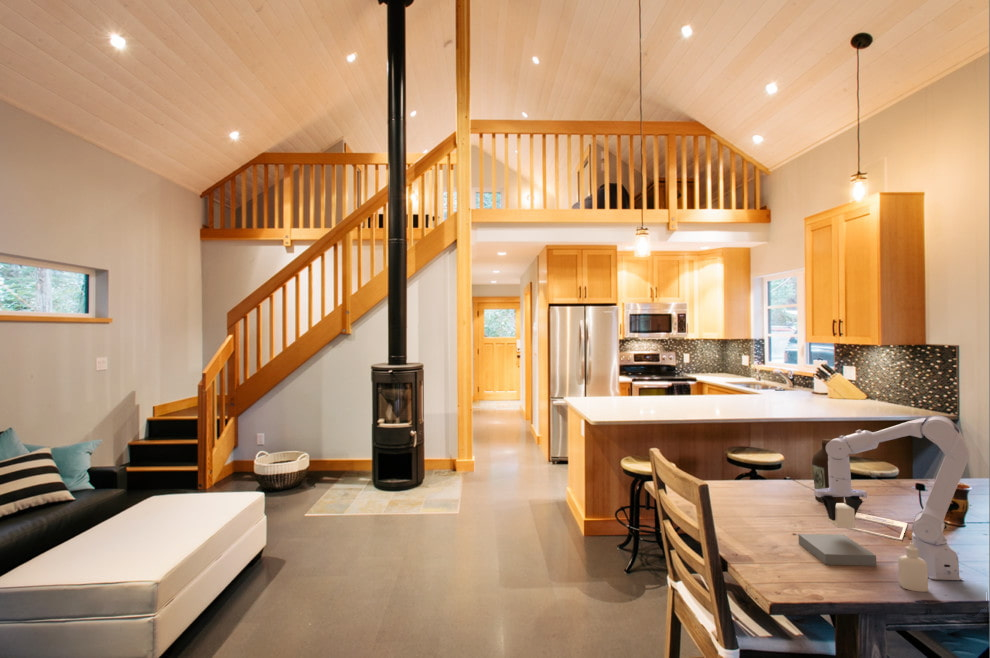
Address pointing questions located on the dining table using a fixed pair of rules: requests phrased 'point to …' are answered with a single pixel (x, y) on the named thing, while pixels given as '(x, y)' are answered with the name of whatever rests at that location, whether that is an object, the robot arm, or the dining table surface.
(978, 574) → the dining table surface
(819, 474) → the olive oil
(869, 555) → the base plinth
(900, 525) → the photo frame
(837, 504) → the cream block
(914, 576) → the eye dropper bottle
